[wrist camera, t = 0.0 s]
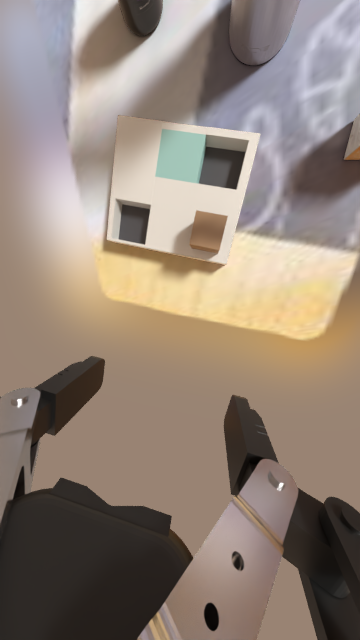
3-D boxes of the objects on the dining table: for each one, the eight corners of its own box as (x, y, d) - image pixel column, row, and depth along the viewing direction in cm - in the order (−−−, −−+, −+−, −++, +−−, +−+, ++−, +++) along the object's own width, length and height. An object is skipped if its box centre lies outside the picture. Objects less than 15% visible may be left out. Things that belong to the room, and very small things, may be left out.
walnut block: (197, 219, 32) (196, 210, 28) (225, 224, 32) (227, 215, 27) (191, 248, 33) (189, 244, 29) (217, 253, 33) (219, 249, 29)
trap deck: (125, 129, 33) (117, 115, 30) (255, 147, 31) (260, 133, 28) (114, 242, 38) (106, 239, 35) (225, 265, 36) (226, 264, 33)
